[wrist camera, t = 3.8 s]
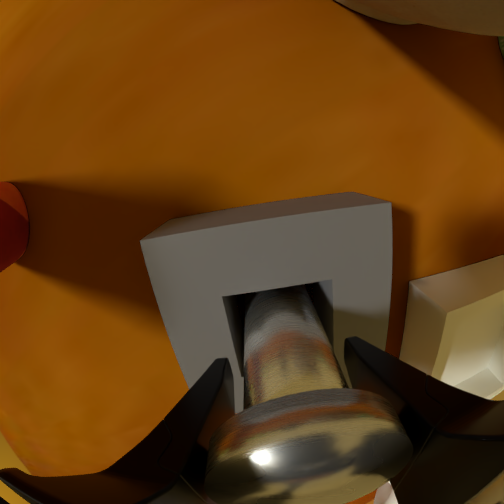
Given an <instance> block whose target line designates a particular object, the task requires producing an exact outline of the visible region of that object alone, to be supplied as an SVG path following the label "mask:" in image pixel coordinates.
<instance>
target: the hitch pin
mask: <svg viewBox="0 0 504 504" xmlns="http://www.w3.org/2000/svg"><path fill="white" fill-rule="evenodd" d="M412 453H413V445H412V443H411V441H410V439H409V437H408V435H407V433H406V431H405V429H404V427H403V425H402V423H401V421H400V419H399V417H398V415H397V413H396V411H395V409H394V407H393V406H392V404H391V403H390V402H389V401H388V400H387V399H386V398H385V397H383V396H381V395H380V394H377V393H374V392H371V391H366V390H361V389H351V388H349V387H348V384H347V382H346V380H345V377H344V375H343V372H342V370H341V368H340V365H339V363H338V360H337V358H336V356H335V353H334V351H333V349H332V346H331V344H330V342H329V339H328V337H327V335H326V333H325V330H324V328H323V326H322V323H321V321H320V319H319V317H318V314H317V312H316V310H315V308H314V305H313V303H312V301H311V299H310V297H309V294H308V292H307V290H306V288H305V286H304V284H301V285H295V286H289V287H283V288H277V289H270V290H264V291H257V292H250V293H245V336H244V398H243V411H241V412H239V413H237V414H235V415H233V416H232V417H230V418H229V419H227V420H226V421H224V422H223V423H222V424H221V425H220V426H219V427H218V428H217V429H216V430H215V431H214V433H213V434H212V436H211V438H210V440H209V447H208V456H207V464H206V473H205V483H204V490H205V493H206V494H207V496H208V497H209V498H210V499H211V500H213V501H214V502H216V503H217V504H345V503H348V502H350V501H353V500H355V499H358V498H360V497H362V496H364V495H366V494H368V493H370V492H372V491H374V490H376V489H378V488H379V487H381V486H382V485H384V484H385V483H387V482H388V481H390V480H391V479H392V478H394V477H395V476H396V475H397V474H398V473H399V472H400V471H401V470H402V469H403V468H404V467H405V466H406V465H407V463H408V462H409V460H410V458H411V456H412Z"/></svg>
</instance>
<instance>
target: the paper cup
mask: <svg viewBox="0 0 504 504" xmlns="http://www.w3.org/2000/svg"><path fill="white" fill-rule="evenodd" d="M28 240H29V218H28V212H27V208H26V204H25V201H24V199H23V197H22V195H21V193H20V191H19V190H18V189H17V188H16V187H15V186H14V185H13V184H11V183H9V182H0V272H2V271H3V270H4V269H6V268H7V267H8V266H10V265H11V264H13V263H14V262H15V261H17V260H18V259H19V258H20V257H21V256H22V255H23V254H24V252H25V250H26V248H27V245H28Z"/></svg>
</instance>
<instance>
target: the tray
mask: <svg viewBox="0 0 504 504" xmlns="http://www.w3.org/2000/svg"><path fill="white" fill-rule="evenodd" d="M399 359H400V360H402V361H404V362H405V363H407V364H409V365H411V366H413V367H415V368H417V369H419V370H420V371H422V372H424V373H426V374H427V375H430V376H432V377H434V378H436V379H438V380H440V381H442V382H444V383H446V384H449V385H451V386H453V387H456V388H458V389H461V390H464V391H466V392H469V393H472V394H474V395H477V396H480V397H483V398H486V399H489V400H490V399H492V398H493V397H495V396H496V395H497V394H499V393H500V392H502V391H503V390H504V255H500V256H497V257H494V258H491V259H488V260H485V261H481V262H478V263H475V264H471V265H468V266H465V267H461V268H458V269H454V270H450V271H447V272H443V273H439V274H436V275H432V276H428V277H424V278H420V279H416V280H412V281H409V291H408V301H407V310H406V318H405V326H404V332H403V339H402V345H401V350H400V356H399ZM427 375H426V376H427Z"/></svg>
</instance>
